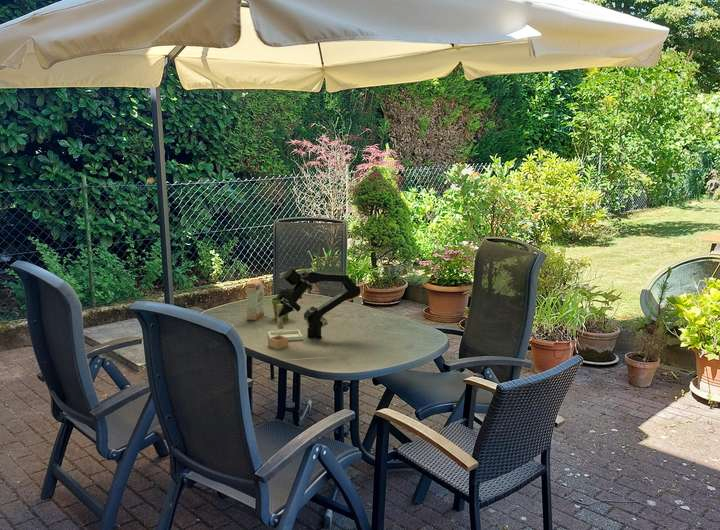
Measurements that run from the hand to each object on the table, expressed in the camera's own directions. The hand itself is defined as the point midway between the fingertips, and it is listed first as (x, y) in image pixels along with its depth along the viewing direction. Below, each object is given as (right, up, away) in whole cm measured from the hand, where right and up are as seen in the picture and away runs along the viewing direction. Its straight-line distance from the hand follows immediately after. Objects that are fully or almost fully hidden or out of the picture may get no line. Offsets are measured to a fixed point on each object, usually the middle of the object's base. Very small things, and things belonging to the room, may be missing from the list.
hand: (277, 315), depth 302 cm
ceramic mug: (+17, -7, +38) cm, 42 cm away
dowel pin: (+1, -6, +2) cm, 7 cm away
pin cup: (+1, -15, -5) cm, 16 cm away
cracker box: (-19, -5, +48) cm, 52 cm away
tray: (+3, -12, +9) cm, 15 cm away
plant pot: (-4, -5, +47) cm, 47 cm away
